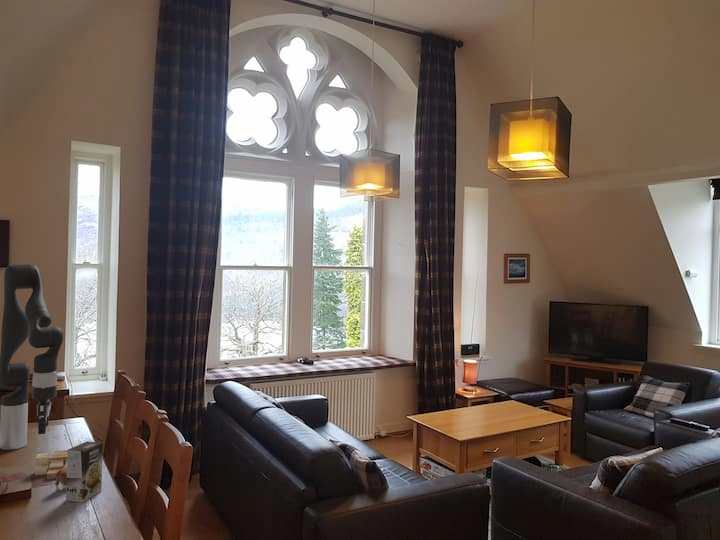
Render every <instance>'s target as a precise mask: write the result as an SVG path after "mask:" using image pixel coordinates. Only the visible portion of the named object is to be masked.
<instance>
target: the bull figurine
mask: <svg viewBox="0 0 720 540" xmlns="http://www.w3.org/2000/svg"><path fill="white" fill-rule="evenodd" d="M55 477H56V479H55V481H56V482H55V483H54V485H55V491H56V490H57V492H59V491H60V488H59V484H60V485H61V488H62V489H64V488H66V481H67V467H65V468H62V469H60V470H59V471H57V473H56V475H55ZM58 490H59V491H58Z"/></svg>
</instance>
